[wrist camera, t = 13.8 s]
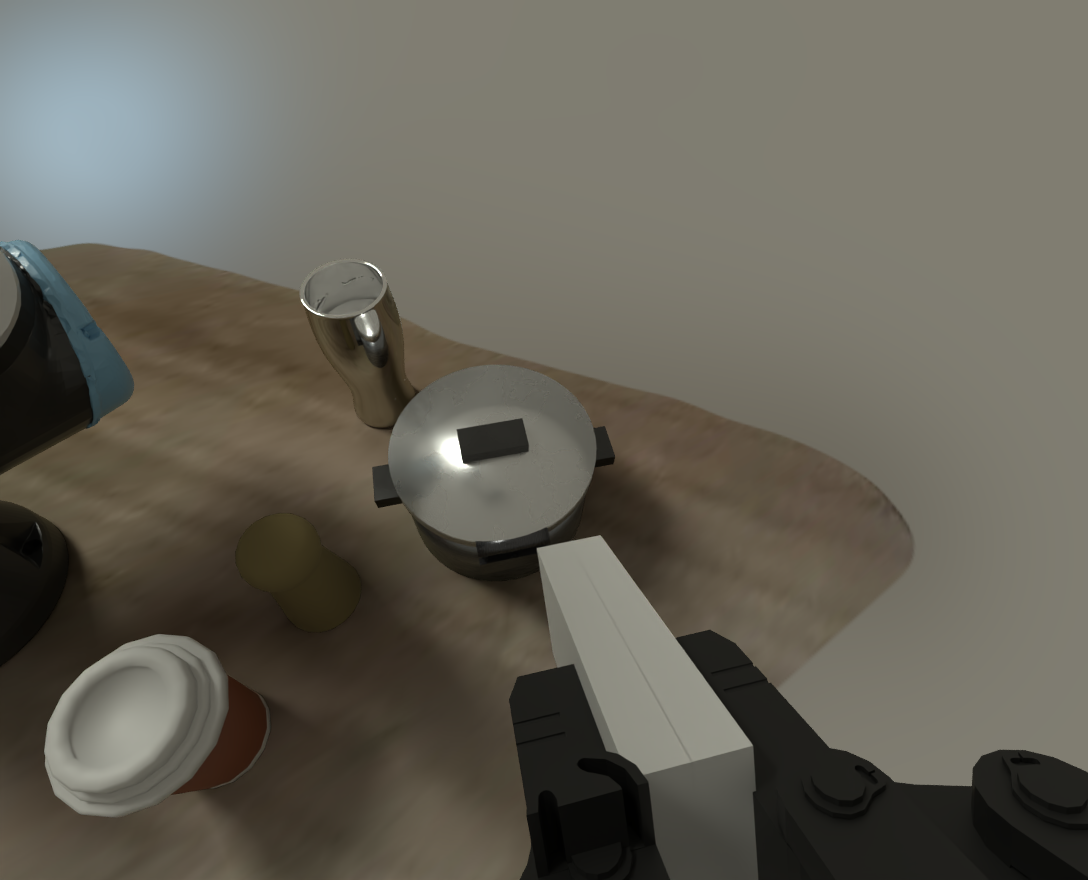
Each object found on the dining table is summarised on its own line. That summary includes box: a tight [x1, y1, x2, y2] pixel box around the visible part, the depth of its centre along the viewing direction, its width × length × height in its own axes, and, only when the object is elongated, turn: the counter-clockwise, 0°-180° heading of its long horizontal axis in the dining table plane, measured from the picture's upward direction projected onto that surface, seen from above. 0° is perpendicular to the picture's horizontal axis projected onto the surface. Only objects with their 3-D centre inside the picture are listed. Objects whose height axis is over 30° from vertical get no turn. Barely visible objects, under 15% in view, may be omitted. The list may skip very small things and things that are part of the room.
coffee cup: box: [44, 634, 271, 817], centre depth 34 cm, size 9×9×12 cm
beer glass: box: [300, 259, 416, 428], centre depth 49 cm, size 7×7×15 cm
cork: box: [235, 513, 361, 632], centre depth 40 cm, size 6×6×11 cm
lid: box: [388, 365, 597, 558], centre depth 42 cm, size 16×16×2 cm
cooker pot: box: [372, 426, 615, 581], centre depth 46 cm, size 16×19×8 cm
